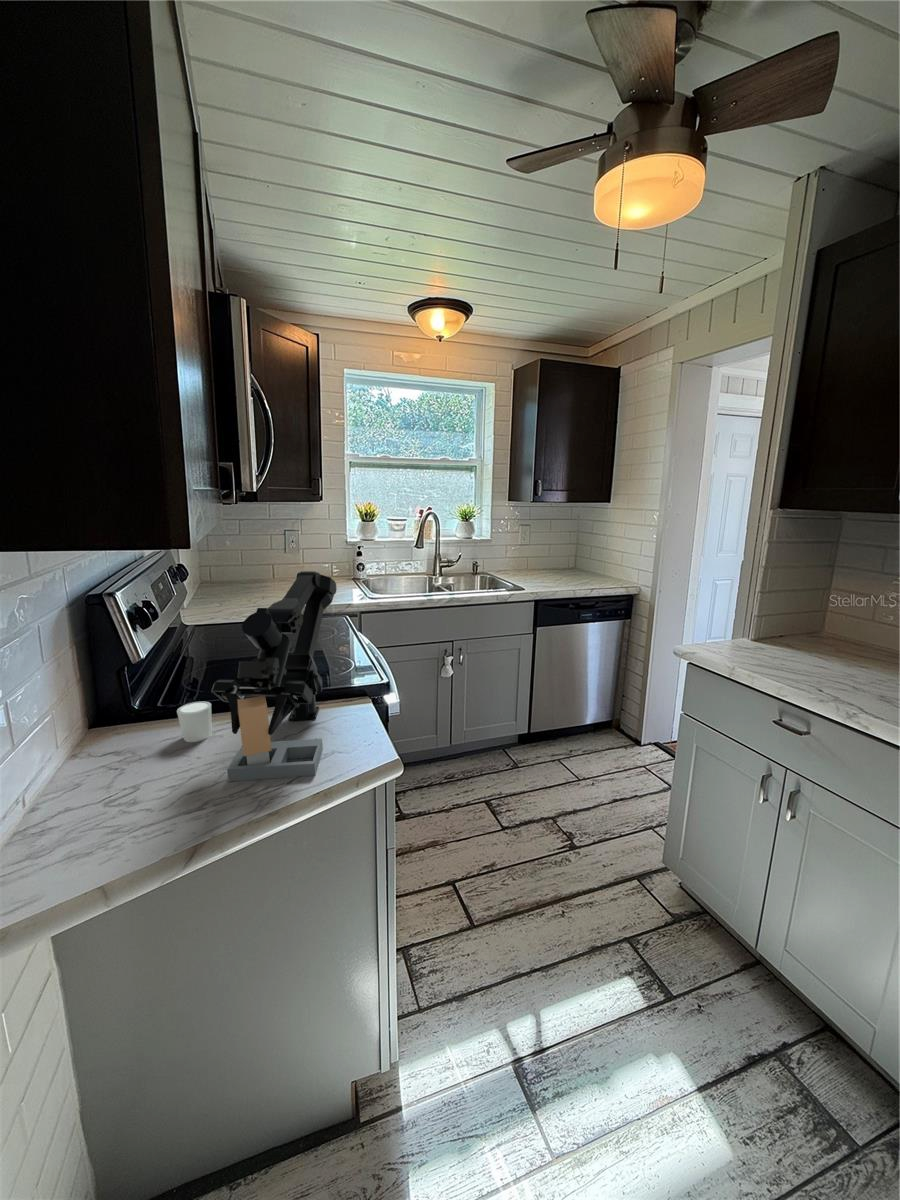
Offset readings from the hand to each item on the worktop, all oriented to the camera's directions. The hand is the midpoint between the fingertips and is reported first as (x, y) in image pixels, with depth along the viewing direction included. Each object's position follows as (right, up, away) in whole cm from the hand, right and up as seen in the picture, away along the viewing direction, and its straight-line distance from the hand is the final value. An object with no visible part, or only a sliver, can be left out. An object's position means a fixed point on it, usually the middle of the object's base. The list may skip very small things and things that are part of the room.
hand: (251, 733), depth 93 cm
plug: (0, -7, +3) cm, 7 cm away
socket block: (+4, -7, +4) cm, 9 cm away
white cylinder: (-19, -5, +17) cm, 26 cm away
